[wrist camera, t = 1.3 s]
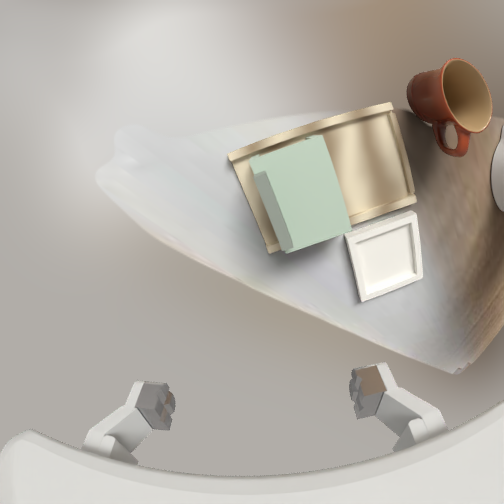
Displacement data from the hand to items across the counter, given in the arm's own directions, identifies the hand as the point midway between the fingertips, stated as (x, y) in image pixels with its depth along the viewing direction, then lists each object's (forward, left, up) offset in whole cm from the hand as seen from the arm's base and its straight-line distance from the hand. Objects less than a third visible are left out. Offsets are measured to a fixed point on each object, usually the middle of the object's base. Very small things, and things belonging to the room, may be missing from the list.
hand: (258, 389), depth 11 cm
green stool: (-5, -2, -26) cm, 27 cm away
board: (-10, -2, -27) cm, 29 cm away
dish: (-15, +12, -27) cm, 33 cm away
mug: (-27, -7, -27) cm, 39 cm away
